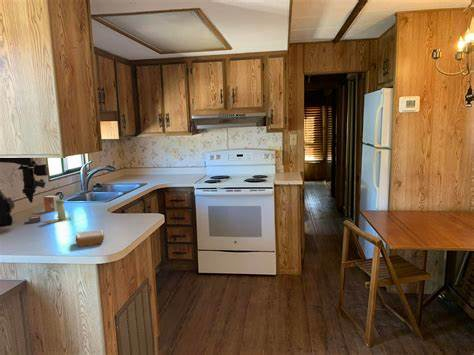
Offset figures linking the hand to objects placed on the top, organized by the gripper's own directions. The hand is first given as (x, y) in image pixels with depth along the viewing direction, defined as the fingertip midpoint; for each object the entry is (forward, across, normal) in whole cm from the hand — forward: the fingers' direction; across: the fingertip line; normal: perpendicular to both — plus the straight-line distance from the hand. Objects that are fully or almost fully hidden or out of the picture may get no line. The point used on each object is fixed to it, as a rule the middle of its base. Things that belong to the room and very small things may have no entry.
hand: (31, 202), depth 211 cm
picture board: (+12, -2, -14) cm, 19 cm away
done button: (+11, -2, -1) cm, 11 cm away
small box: (+12, +28, -10) cm, 32 cm away
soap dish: (+12, -63, -27) cm, 70 cm away
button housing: (+12, -2, -1) cm, 12 cm away
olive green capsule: (+11, -6, -16) cm, 20 cm away
